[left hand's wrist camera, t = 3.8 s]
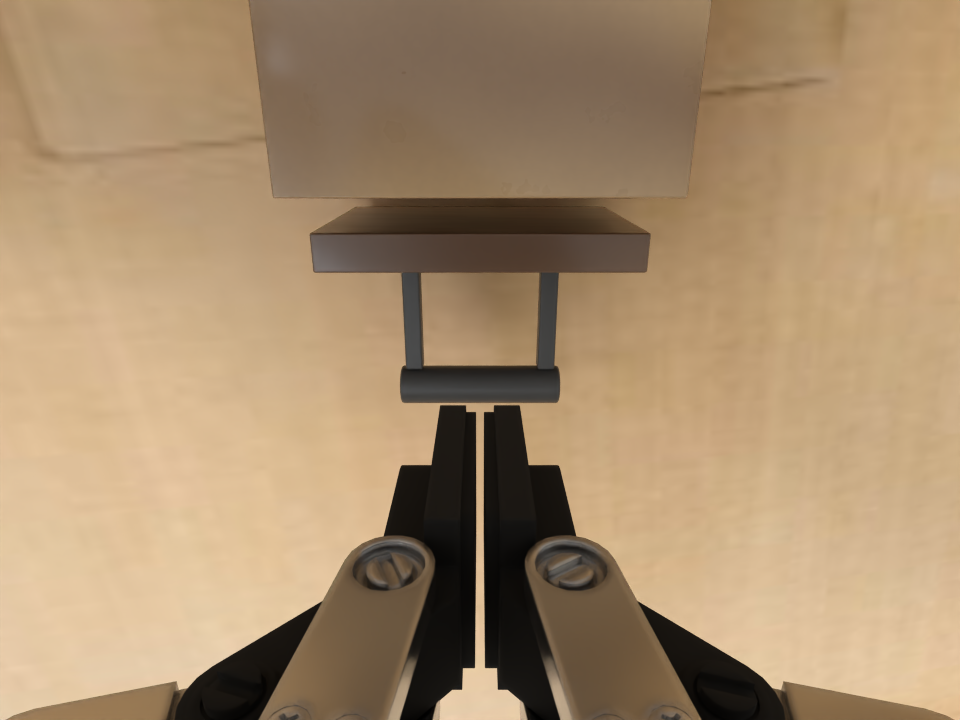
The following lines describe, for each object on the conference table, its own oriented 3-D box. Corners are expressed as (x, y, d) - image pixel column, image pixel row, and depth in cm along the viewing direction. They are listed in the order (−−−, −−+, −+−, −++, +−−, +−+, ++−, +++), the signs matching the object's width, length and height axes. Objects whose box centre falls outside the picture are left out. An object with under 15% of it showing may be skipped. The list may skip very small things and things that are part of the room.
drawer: (593, 355, 26) (631, 427, 20) (366, 355, 26) (329, 427, 20) (653, -446, 17) (758, -796, 11) (306, -446, 17) (201, -796, 11)
